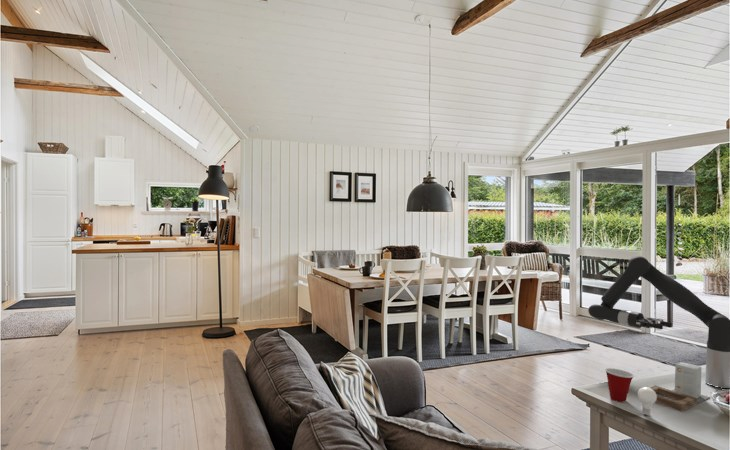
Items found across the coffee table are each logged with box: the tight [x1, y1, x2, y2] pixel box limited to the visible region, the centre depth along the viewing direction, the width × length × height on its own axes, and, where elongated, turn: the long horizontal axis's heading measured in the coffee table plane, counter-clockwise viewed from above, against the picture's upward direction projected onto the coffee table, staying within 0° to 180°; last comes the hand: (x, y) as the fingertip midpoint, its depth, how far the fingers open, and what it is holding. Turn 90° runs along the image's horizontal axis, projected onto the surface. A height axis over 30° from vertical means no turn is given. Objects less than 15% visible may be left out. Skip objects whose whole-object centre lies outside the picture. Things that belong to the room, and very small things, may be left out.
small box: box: [674, 361, 702, 398], centre depth 194 cm, size 8×6×13 cm
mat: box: [672, 388, 711, 405], centre depth 194 cm, size 12×12×1 cm
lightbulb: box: [637, 386, 658, 416], centre depth 173 cm, size 6×6×11 cm
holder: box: [649, 385, 697, 412], centre depth 188 cm, size 14×16×2 cm
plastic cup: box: [605, 367, 635, 403], centre depth 188 cm, size 11×11×12 cm
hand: (666, 326), depth 205 cm, fingers open, 8 cm apart
